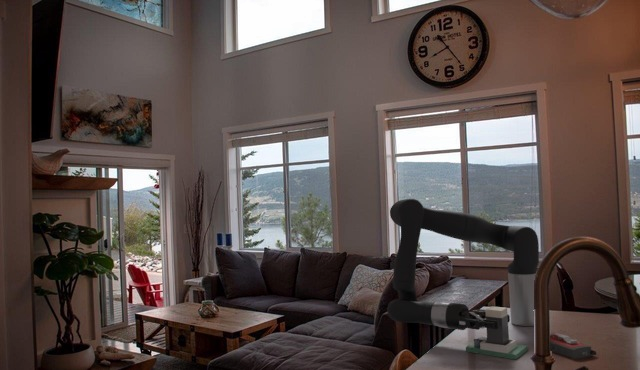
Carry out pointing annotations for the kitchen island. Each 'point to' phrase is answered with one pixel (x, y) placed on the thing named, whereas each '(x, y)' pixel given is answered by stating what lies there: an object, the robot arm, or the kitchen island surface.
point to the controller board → (497, 348)
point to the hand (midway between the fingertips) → (503, 321)
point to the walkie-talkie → (569, 347)
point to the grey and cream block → (500, 334)
